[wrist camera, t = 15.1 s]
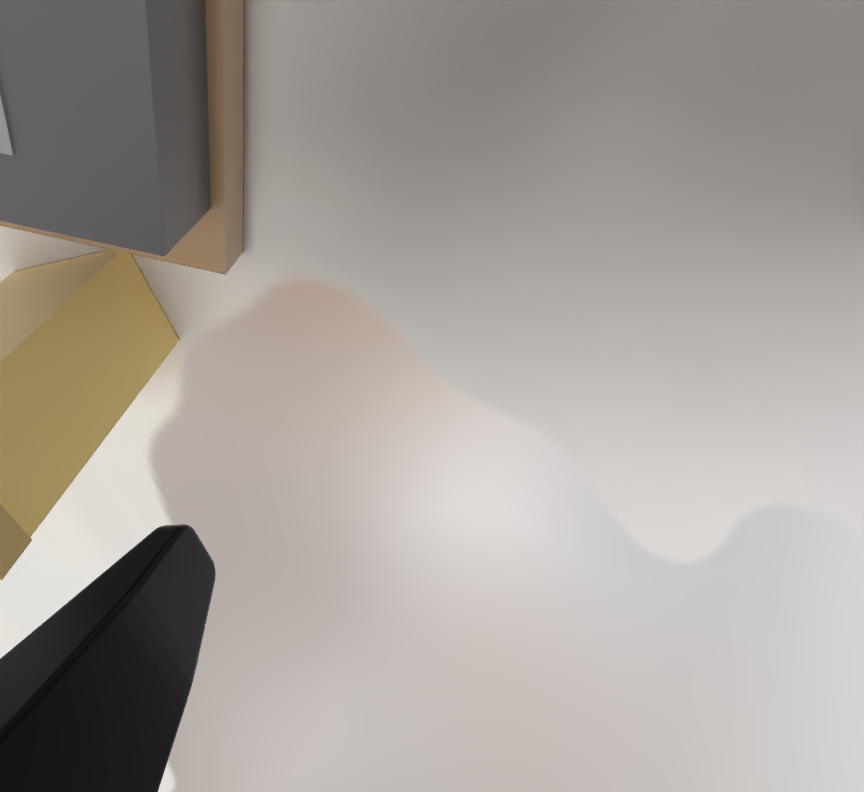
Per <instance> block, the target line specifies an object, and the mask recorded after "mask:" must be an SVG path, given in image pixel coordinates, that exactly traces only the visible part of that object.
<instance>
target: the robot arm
mask: <svg viewBox="0 0 864 792" xmlns="http://www.w3.org/2000/svg"><path fill="white" fill-rule="evenodd" d="M214 582H215V566H214V563H213V560H212V559H211V557H210V555H209V554H208V552H207V550H206V549H205V547H204V545H203V544H202V542H201V540H200V539H199V537H198V535H197V534H196V532H195V530H194V529H193V528H192V527H190V526H189V525H185V524H183V525H166V526H161V527H159V528H157V529H156V530H154V531H153V532H152V533H151V534H149V535H148V536H147V537H146V538H145V539H143V540H142V541H141V542H140V543H139V544H137V545H136V546H135V547H134V548H133V549H131V550H130V551H129V552H128V553H127V554H125V555H124V556H123V557H122V558H121V559H119V560H118V561H117V562H116V563H115V564H113V565H112V566H111V567H110V568H109V569H107V570H106V571H105V572H104V573H103V574H101V575H100V576H99V577H98V578H97V579H95V580H94V581H93V582H92V583H91V584H89V585H88V586H87V587H86V588H85V589H83V590H82V591H81V592H80V593H79V594H77V595H76V596H75V597H74V598H73V599H71V600H70V601H69V602H68V603H67V604H65V605H64V606H63V607H62V608H61V609H60V610H58V611H57V612H56V613H55V614H54V615H52V616H51V617H50V618H49V619H48V620H46V621H45V622H44V623H43V624H42V625H40V626H39V627H38V628H37V629H36V630H34V631H33V632H32V633H31V634H30V635H28V636H27V637H26V638H25V639H24V640H22V641H21V642H20V643H19V644H18V645H16V646H15V647H14V648H13V649H12V650H10V651H9V652H8V653H7V654H6V655H4V656H3V657H2V658H1V659H0V792H158V789H159V786H160V783H161V780H162V777H163V774H164V771H165V768H166V764H167V761H168V758H169V755H170V752H171V749H172V746H173V743H174V740H175V737H176V734H177V730H178V727H179V724H180V721H181V718H182V715H183V712H184V708H185V706H186V703H187V699H188V696H189V692H190V689H191V686H192V682H193V678H194V674H195V670H196V665H197V661H198V657H199V652H200V647H201V642H202V638H203V633H204V629H205V624H206V619H207V615H208V610H209V605H210V601H211V596H212V591H213V587H214Z"/></svg>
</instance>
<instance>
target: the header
mask: <svg viewBox="0 0 864 792" xmlns="http://www.w3.org/2000/svg"><path fill="white" fill-rule="evenodd" d="M243 92H244V0H0V226H5V227H9V228H14V229H19V230H23V231H28V232H33V233H37V234H42V235H46V236H51V237H56V238H60V239H65V240H69V241H74V242H79V243H83V244H88V245H92V246H97V247H102V248H106V249H111V250H115V251H120V252H125V253H129V254H134V255H138V256H143V257H148V258H152V259H157V260H161V261H166V262H171V263H175V264H180V265H184V266H189V267H194V268H198V269H203V270H207V271H212V272H217V273H221V274H227V272H228V271H229V270H230V268H231V267H232V266H233V264H234V263H235V262H236V260H237V259H238V258H239V256H240V255H241V254H242V253H243Z"/></svg>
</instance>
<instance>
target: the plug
mask: <svg viewBox="0 0 864 792" xmlns="http://www.w3.org/2000/svg"><path fill="white" fill-rule="evenodd" d="M178 341H179V338H178V336H177V334H176V333H175V331H174V329H173V327H172V325H171V324H170V322H169V320H168V318H167V317H166V315H165V313H164V311H163V310H162V308H161V306H160V304H159V302H158V301H157V299H156V297H155V295H154V294H153V292H152V290H151V288H150V286H149V285H148V283H147V281H146V279H145V278H144V276H143V274H142V272H141V271H140V269H139V267H138V265H137V263H136V262H135V260H134V258H133V256H132V255H131V254H129V253H125V252H120V251H115V250H111V249H110V250H105V251H101V252H97V253H92V254H88V255H83V256H79V257H75V258H70V259H66V260H61V261H57V262H53V263H48V264H44V265H39V266H35V267H31V268H26V269H22V270H17V271H15V272H13V273H12V274H11V275H9V276H8V277H7V278H5V279H4V280H3V281H2V282H0V580H2V579H3V578H4V577H5V575H6V574H7V573H8V571H9V570H10V569H11V567H12V566H13V565H14V563H15V562H16V561H17V559H18V558H19V557H20V555H21V554H22V553H23V551H24V550H25V549H26V547H27V546H28V545H29V543H30V542H31V541H32V539H31V538H30V537H31V536H32V534H33V533H34V532H35V530H36V529H37V528H38V526H39V525H40V524H41V522H42V521H43V520H44V518H45V517H46V516H47V514H48V513H49V512H50V510H51V509H52V508H53V506H54V505H55V504H56V503H57V501H58V500H59V499H60V497H61V496H62V495H63V493H64V492H65V491H66V489H67V488H68V487H69V485H70V484H71V483H72V481H73V480H74V479H75V477H76V476H77V475H78V473H79V472H80V471H81V469H82V468H83V467H84V465H85V464H86V463H87V461H88V460H89V459H90V457H91V456H92V455H93V453H94V452H95V451H96V450H97V448H98V447H99V446H100V444H101V443H102V442H103V440H104V439H105V438H106V436H107V435H108V434H109V432H110V431H111V430H112V428H113V427H114V426H115V424H116V423H117V422H118V420H119V419H120V418H121V416H122V415H123V414H124V412H125V411H126V410H127V408H128V407H129V406H130V404H131V403H132V402H133V400H134V399H135V398H136V396H137V395H138V394H139V393H140V391H141V390H142V389H143V387H144V386H145V385H146V383H147V382H148V381H149V379H150V378H151V377H152V375H153V374H154V373H155V371H156V370H157V369H158V367H159V366H160V365H161V363H162V362H163V361H164V359H165V358H166V357H167V355H168V354H169V353H170V351H171V350H172V349H173V347H174V346H175V345H176V343H177V342H178Z"/></svg>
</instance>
